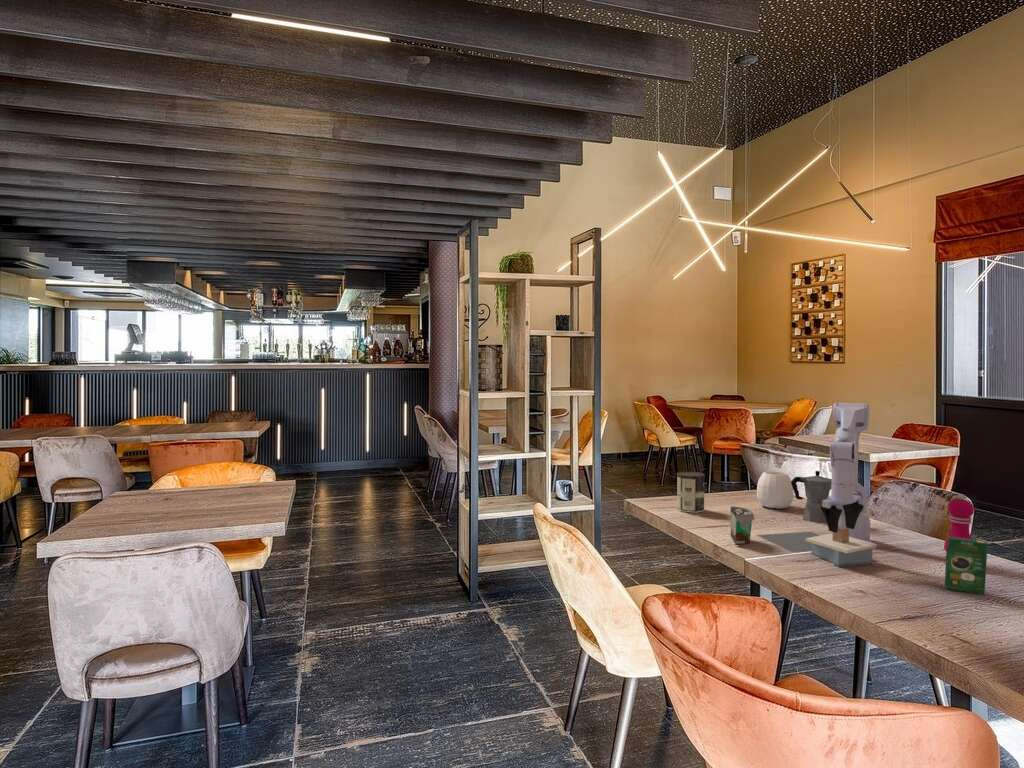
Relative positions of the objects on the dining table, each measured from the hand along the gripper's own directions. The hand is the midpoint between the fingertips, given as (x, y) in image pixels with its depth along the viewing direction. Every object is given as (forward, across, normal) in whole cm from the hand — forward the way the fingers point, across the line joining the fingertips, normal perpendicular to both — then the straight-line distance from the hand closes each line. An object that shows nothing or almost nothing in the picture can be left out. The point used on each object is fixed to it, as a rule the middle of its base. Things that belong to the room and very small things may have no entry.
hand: (841, 529), depth 176 cm
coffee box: (+9, -6, +30) cm, 31 cm away
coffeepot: (+9, -32, -33) cm, 46 cm away
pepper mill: (+9, -26, +18) cm, 33 cm away
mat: (+9, -4, -16) cm, 19 cm away
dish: (+9, 0, 0) cm, 9 cm away
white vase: (+9, -36, -54) cm, 65 cm away
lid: (+4, 0, 0) cm, 4 cm away
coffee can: (+9, -3, -64) cm, 65 cm away
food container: (+9, +12, -25) cm, 29 cm away
